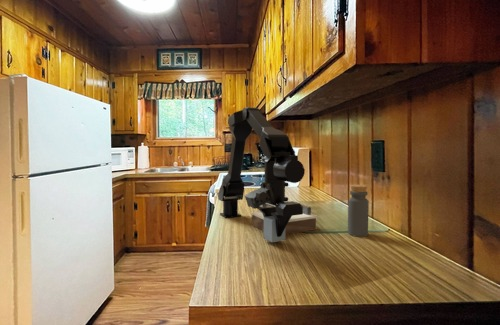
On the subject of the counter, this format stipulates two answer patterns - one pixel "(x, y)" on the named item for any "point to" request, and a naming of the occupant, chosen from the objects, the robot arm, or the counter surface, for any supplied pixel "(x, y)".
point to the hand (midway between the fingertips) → (274, 234)
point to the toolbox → (288, 225)
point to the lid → (303, 216)
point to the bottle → (358, 211)
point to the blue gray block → (271, 230)
